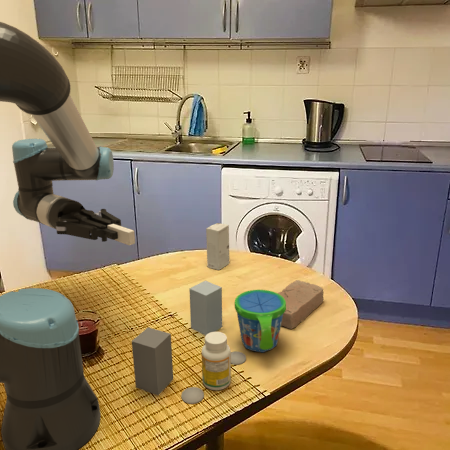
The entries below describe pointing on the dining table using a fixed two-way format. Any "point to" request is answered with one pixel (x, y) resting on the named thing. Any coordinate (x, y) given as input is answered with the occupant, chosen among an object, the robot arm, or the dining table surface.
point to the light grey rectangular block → (206, 307)
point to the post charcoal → (152, 360)
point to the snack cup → (260, 318)
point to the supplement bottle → (216, 361)
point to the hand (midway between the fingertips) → (131, 238)
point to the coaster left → (192, 395)
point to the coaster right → (237, 358)
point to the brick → (300, 302)
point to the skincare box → (217, 246)
